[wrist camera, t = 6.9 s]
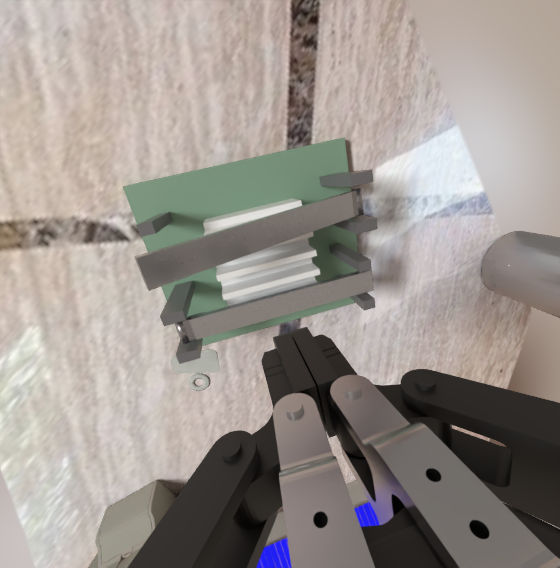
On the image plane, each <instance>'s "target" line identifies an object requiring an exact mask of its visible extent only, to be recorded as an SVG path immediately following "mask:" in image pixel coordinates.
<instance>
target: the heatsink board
mask: <svg viewBox="0 0 560 568" xmlns="http://www.w3.org/2000/svg"><path fill="white" fill-rule="evenodd" d="M370 182H373V174H372V170H363V171H352V172H349V170H348V161H347V153H346V145H345V138H340V139H336V140H331V141H327V142H322V143H318V144H313V145H309V146H304V147H300V148H295V149H290V150H286V151H281V152H277V153H272V154H268V155H263V156H259V157H254V158H250V159H245V160H241V161H236V162H232V163H227V164H223V165H218V166H214V167H209V168H205V169H200V170H196V171H191V172H187V173H182V174H178V175H173V176H168V177H164V178H159V179H155V180H150V181H146V182H141V183H137V184H132V185H128V186H123V189H124V191H125V194H126V196H127V199H128V201H129V204H130V207H131V209H132V212H133V214H134V217H135V220H136V222H137V228H138V230H139V233H140V235H141V237H142V238H143V240H144V243H145V245H146V248H147V251H148V252H151V251H155V250H158V249H161V248H164V247H168V246H171V245H174V244H178V243H181V242H184V241H187V240H191V239H194V238H197V237H201V236H204V235H207V234H210V233H214V232H217V231H220V230H224V229H227V228H230V227H233V226H237V225H240V224H243V223H247V222H250V221H253V220H257V219H260V218H263V217H266V216H270V215H273V214H276V213H280V212H283V211H286V210H289V209H293V208H296V207H299V206H303V205H306V204H309V203H312V202H316V201H319V200H322V199H326V198H329V197H332V196H335V195H339V194H342V193H345V192H349V191H351V187H353V186H357V185H361V184H366V183H370ZM375 229H377V218H374V217H369V216H365V215H360V216H355V217H352V218H349V219H346V220H343V221H341V222H338V223H335V224H332V225H330V226H327V227H324V228H321V229H319V230H316V231H313V232H310V233H307V234H305V235H302V236H299V237H296V238H294V239H291V240H288V241H285V242H282V243H280V244H277V245H274V246H271V247H269V248H266V249H263V250H260V251H258V252H255V253H252V254H249V255H246V256H244V257H241V258H238V259H235V260H233V261H230V262H227V263H224V264H222V265H219V266H216V267H213V268H210V269H208V270H205V271H202V272H199V273H197V274H194V275H191V276H188V277H186V278H183V279H180V280H177V281H174V282H172V283H169V284H166V285H163V286H161V287H162V289H163V292H164V294H165V297H166V300H167V303H166V305H165V307H164V309H163V311H162V313H161V315H160V317H161V320H162V322H163V325H164V326H166V325H170V324H174V323H177V322H181V321H185V320H186V319H187V318H188V317H190V316H194V315H197V314H201V313H205V312H208V311H212V310H216V309H219V308H223V307H227V306H231V305H234V304H238V303H242V302H245V301H249V300H253V299H256V298H260V297H264V296H267V295H271V294H275V293H279V292H282V291H286V290H290V289H293V288H297V287H301V286H304V285H308V284H312V283H315V282H319V281H323V280H327V279H330V278H334V277H338V276H341V275H345V274H349V273H352V272H356V271H359V272H362V271H366V270H370V269H371V261H370V259H369V258H367V257H365V256H363V255H361V254H359V253H358V246H357V238H356V234H360V233H363V232H367V231H371V230H375ZM352 303H357V304H358V305H359V306H360V307H361V308H362V309H363V310H367V309H371V308H374V307H375V300H374V298H373V297H372V296H370V295H369V294H368V293H367V292H365V293H362V294H358V295H355V296H351V297H348V298H344V299H340V300H337V301H333V302H330V303H326V304H323V305H319V306H315V307H312V308H308V309H305V310H301V311H297V312H294V313H290V314H287V315H283V316H280V317H276V318H272V319H269V320H265V321H262V322H258V323H255V324H251V325H247V326H244V327H240V328H237V329H233V330H230V331H226V332H222V333H219V334H215V335H212V336H208V337H204V338H201V339H197V340H192V341H191V342H189V343H187V344H182V341H181V339H180V343H179V346H178V350H177V353H176V357H177V359H178V362H179V364H182V363H185V362H189V361H192V360H196V359H199V358H200V357H201V349H202V346H203V345H206V344H210V343H213V342H217V341H220V340H224V339H228V338H231V337H235V336H238V335H242V334H245V333H249V332H252V331H256V330H260V329H263V328H267V327H270V326H274V325H277V324H281V323H284V322H288V321H292V320H295V319H299V318H302V317H306V316H309V315H313V314H316V313H320V312H324V311H327V310H331V309H334V308H338V307H341V306H345V305H348V304H352Z"/></svg>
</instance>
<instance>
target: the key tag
mask: <svg viewBox="0 0 560 568" xmlns="http://www.w3.org/2000/svg"><path fill="white" fill-rule="evenodd" d="M171 364H172V368H173V372H174V374H178V373H197V374H194V375H192V376H191V377H190V379H189V386H190V387H191V388H192V389H193V390H196V391H201V390H204V389H205V388H207V387H208V385H209V378H208V376H206V375H205V374H202V373H209V372H220V370H219V364H218V358H217V352H216V351H214V350H203V351H201V357H200V358H199V359H196V360H192V361H189V362H185V363H182V364H179V362H178V359H177V357H176V355H174V356H173V357H172V358H171ZM198 378H201V379H203V380H204V384H203V385H202V386H196V385H195V384H194V381H195V380H196V379H198Z"/></svg>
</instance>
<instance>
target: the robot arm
mask: <svg viewBox="0 0 560 568" xmlns="http://www.w3.org/2000/svg"><path fill="white" fill-rule="evenodd" d="M481 272H482V279H483V282H484V284H485V285H486V287H487V288H489V289H490V290H492V291H494V292H497V293H499V294H502V295H504V296H507V297H509V298H511V299H514V300H516V301H519V302H521V303H524V304H526V305H529V306H531V307H534V308H536V309H539V310H541V311H544V312H546V313H549V314H551V315H554V316H556V317H559V318H560V237H554V236H549V235H542V234H536V233H530V232H524V231H514V232H511V233H508V234H506V235H504V236H502V237H501V238H499V239H498V240H497V241H496V242H495V243H494V244H493V245H492V246H491V248H490V249H489V250H488V252H487V254H486V256H485V258H484V261H483V264H482V270H481ZM273 340H274V344H275V348H276V349H274V350H271V351H268V352H265V353H264V355H263V358H262V365H263V369H264V373H265V377H266V380H267V384H268V388H269V392H270V396H271V400H272V403H273V413H272V416H271V418H270V420H269V421H268V422H267V424H266V425H265V426H263V427H262V428H261V429H260V430H258V431H257V432H255V433H254V434H252V435H251V434H250V433H248V432H245V431H233V432H230V433H227V434H225V435H224V436H222V437H221V438H220V439H218V440H217V441H216V442H215V444H214V445H213V446H212V448H211V449H210V451H209V452H208V453H207V455H206V456H205V458H204V459H203V461H202V462H201V463H200V465H199V466H198V468H197V469H196V471H195V472H194V473H193V475H192V476H191V478H190V479H189V480H188V482H187V483H186V485H185V486H184V488H183V489H182V490H181V492H180V493H179V495H178V496H177V498H176V499H175V500H174V502H173V503H172V505H171V506H170V508H169V509H168V510H167V512H166V513H165V515H164V516H163V518H162V519H161V520H160V522H159V523H158V525H157V526H156V528H155V529H154V530H153V532H152V533H151V535H150V536H149V538H148V539H147V540H146V542H145V543H144V545H143V546H142V547H141V549H140V550H139V552H138V553H137V555H136V556H135V557H134V559H133V560H132V562H131V563H130V565H129V566H128V567H127V568H256V567H257V564H258V562H259V559H260V557H261V555H262V552H263V550H264V547H265V545H266V542H267V540H268V537H269V535H270V532H271V530H272V528H273V525H274V523H275V520H276V517H277V510H278V509H279V508H280V507H282V506H283V510H284V518H285V525H286V532H287V539H288V547H289V554H290V561H291V568H560V529H558V528H556V527H559V528H560V403H557V402H554V401H550V400H545V399H541V398H538V397H534V396H530V395H526V394H522V393H518V392H514V391H510V390H507V389H503V388H499V387H495V386H491V385H487V384H483V383H479V382H475V381H471V380H467V379H464V378H460V377H456V376H452V375H448V374H444V373H440V372H436V371H432V370H427V369H416V370H412V371H409V372H407V373H406V374H405V375H404V376H403V377H402V379H401V384H399V385H385V386H381V385H374V384H372V382H371V381H369V380H368V379H367V378H365V377H363V376H359V375H357V373H356V372H355V371H354V369H353V368H352V367H351V365H350V364H349V363H348V361H347V360H346V359H345V357H344V356H343V355H342V354H341V352H340V351H339V349H338V348H337V347H336V345H335V344H334V342H333V341H332V340H331V339H330V338H328V337H326V336H324V335H322V334H321V335H318V336H315V337H313V336H312V334H311V333H310V331H309V330H308V328H307V327H305V328H301V329H298V330H295V331H292V332H290V333H285V334H282V335H279V336H276V337H273ZM452 425H454V426H457V427H460V428H463V429H466V430H468V431H471V432H474V433H477V434H480V435H483V436H485V437H488V438H491V439H494V440H497V441H499V442H501V443H503V444H504V445H506V446H507V447H503V446H499V445H496V444H493V443H491V442H488V441H485V440H483V439H480V438H477V437H474V436H471V435H469V434H466V433H463V432H460V431H458V430H455V429H452ZM326 432H327V434H328V436H329V438H330V437H333V436H335V435H337V437H338V439H339V441H340V444H341V449H342V453H343V456H344V458H345V460H346V462H347V464H348V465H349V467H350V469H351V471H352V472H353V474H354V476H355V478H356V480H357V481H358V483H359V485H360V487H361V488H362V490H363V492H364V494H365V495H366V497H367V499H368V501H369V502H370V504H371V506H372V508H373V510H374V512H375V514H376V516H377V518H378V521H379V524H380V525H376V526H363V527H361V526H360V523H359V521H358V518H357V515H356V512H355V509H354V506H353V503H352V501H351V498H350V495H349V492H348V489H347V486H346V484H345V481H344V478H343V475H342V472H341V469H340V466H339V464H338V461H337V459H336V457H335V456H334V455H333V453H332V450H331V447H330V444H329V441H328V438H327V434H326ZM501 501H502V502H504V503H502V502H501ZM505 503H506V504H505ZM507 504H509V505H507ZM510 505H511V506H510ZM521 510H522V511H521ZM523 511H524V512H523ZM532 515H533V516H532ZM534 516H535V517H534ZM536 517H537V518H536ZM538 518H539V519H538ZM540 519H541V520H540ZM542 520H543V521H542ZM544 521H546V522H548V523H550V524H552V525H554V526H556V527H554V526H552V525H550V524H548V523H546V522H544Z"/></svg>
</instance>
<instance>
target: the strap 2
mask: <svg viewBox="0 0 560 568" xmlns="http://www.w3.org/2000/svg"><path fill="white" fill-rule="evenodd" d="M373 290H374V289H373V279H372V270H366V271H362V272H359V271H356V272H352V273H349V274H345V275H341V276H338V277H334V278H330V279H327V280H323V281H319V282H315V283H312V284H308V285H304V286H301V287H297V288H293V289H290V290H286V291H282V292H279V293H275V294H271V295H267V296H264V297H260V298H256V299H253V300H249V301H245V302H242V303H238V304H234V305H231V306H227V307H223V308H219V309H216V310H212V311H208V312H205V313H201V314H197V315H194V316H190V317H188V318H187V319H186V320H185V321H181V322H177V323H175V326H176V328H177V331H178V333H179V336H180V339H181V341H182V344H187V343H189V342H191V341H192V340H197V339H201V338H204V337H208V336H212V335H215V334H219V333H222V332H226V331H230V330H233V329H237V328H240V327H244V326H247V325H251V324H255V323H258V322H262V321H265V320H269V319H272V318H276V317H280V316H283V315H287V314H290V313H294V312H297V311H301V310H305V309H308V308H312V307H315V306H319V305H323V304H326V303H330V302H333V301H337V300H340V299H344V298H348V297H351V296H355V295H358V294H362V293H365V292H369V291H373Z"/></svg>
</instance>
